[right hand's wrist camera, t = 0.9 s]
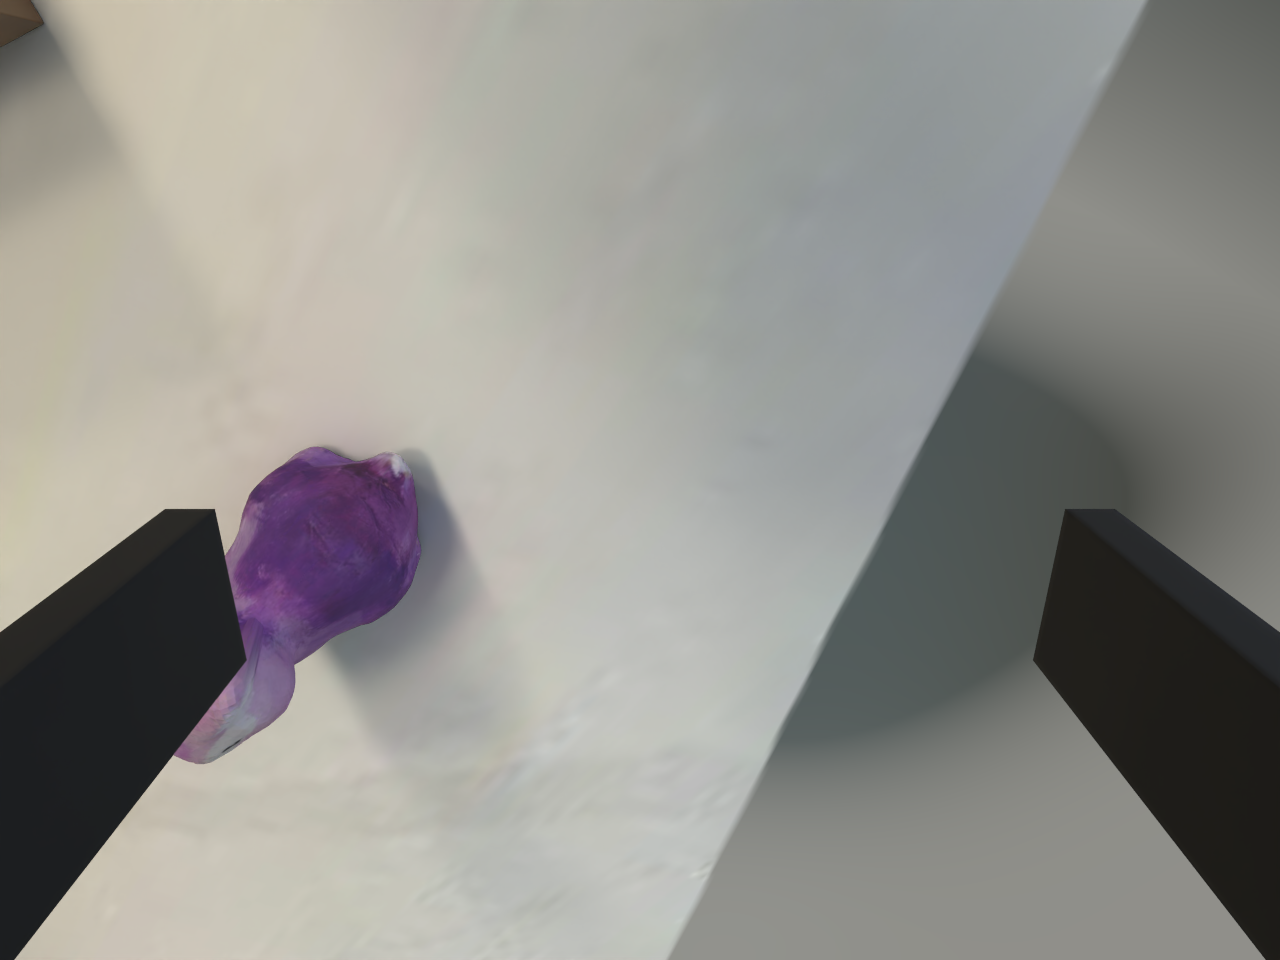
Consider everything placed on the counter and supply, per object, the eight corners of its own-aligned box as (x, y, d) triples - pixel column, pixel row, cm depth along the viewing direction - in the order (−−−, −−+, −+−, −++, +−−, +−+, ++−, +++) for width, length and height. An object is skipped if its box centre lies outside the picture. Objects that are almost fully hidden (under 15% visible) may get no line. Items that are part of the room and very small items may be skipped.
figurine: (272, 632, 43) (91, 860, 29) (223, 448, 39) (-13, 606, 25) (451, 622, 42) (356, 847, 28) (418, 435, 39) (292, 588, 25)
